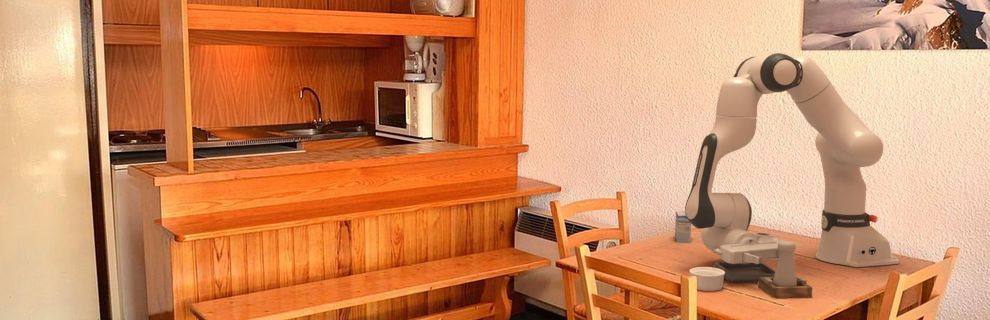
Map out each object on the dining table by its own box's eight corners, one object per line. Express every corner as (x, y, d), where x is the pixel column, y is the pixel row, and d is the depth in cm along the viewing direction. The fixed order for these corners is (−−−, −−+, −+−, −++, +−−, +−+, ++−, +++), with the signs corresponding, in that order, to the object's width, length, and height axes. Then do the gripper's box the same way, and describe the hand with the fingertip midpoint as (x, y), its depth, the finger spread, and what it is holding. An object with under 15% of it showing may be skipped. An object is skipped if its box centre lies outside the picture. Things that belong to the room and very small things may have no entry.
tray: (761, 268, 242) (761, 261, 242) (780, 281, 229) (781, 274, 229) (713, 269, 241) (714, 262, 241) (730, 282, 228) (730, 275, 228)
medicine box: (674, 236, 282) (675, 210, 280) (688, 237, 281) (689, 211, 280) (676, 242, 274) (677, 215, 273) (690, 242, 273) (691, 215, 272)
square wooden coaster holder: (795, 286, 225) (795, 273, 225) (811, 297, 215) (812, 284, 215) (758, 286, 224) (758, 274, 224) (773, 298, 214) (773, 285, 214)
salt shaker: (797, 295, 216) (800, 245, 215) (774, 294, 217) (776, 243, 216) (794, 289, 222) (797, 239, 220) (771, 288, 223) (773, 238, 221)
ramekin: (702, 293, 218) (703, 277, 218) (682, 284, 226) (682, 268, 226) (731, 289, 222) (732, 273, 221) (709, 281, 230) (710, 265, 229)
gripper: (710, 238, 232) (741, 250, 219) (774, 233, 238) (808, 244, 225) (709, 261, 233) (740, 274, 220) (773, 255, 239) (807, 267, 226)
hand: (775, 259), depth 222 cm, fingers open, 8 cm apart
